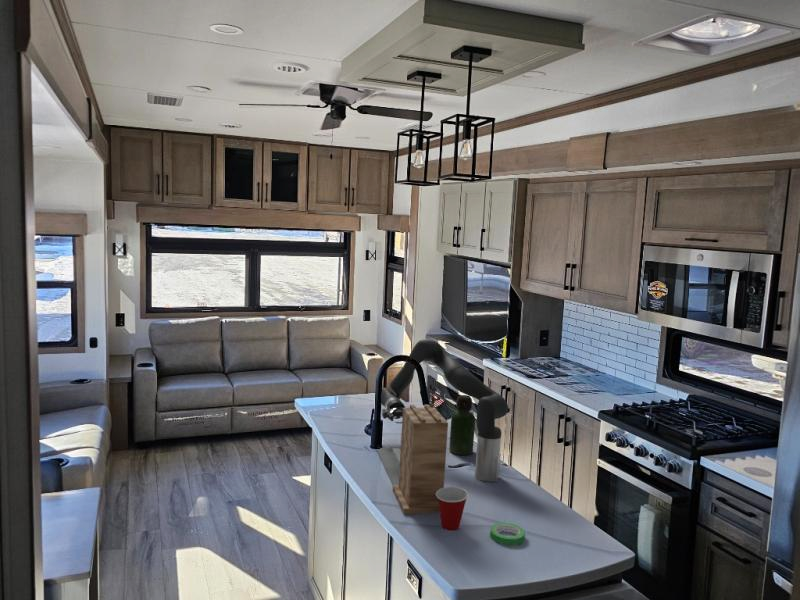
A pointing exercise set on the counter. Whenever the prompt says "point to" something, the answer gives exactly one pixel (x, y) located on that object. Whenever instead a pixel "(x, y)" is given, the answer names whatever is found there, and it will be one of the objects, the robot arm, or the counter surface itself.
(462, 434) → the green bottle
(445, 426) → the brown tall ridged block
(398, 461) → the steel bar
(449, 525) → the plastic cup
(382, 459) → the rubber mat
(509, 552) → the counter surface
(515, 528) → the tape roll
